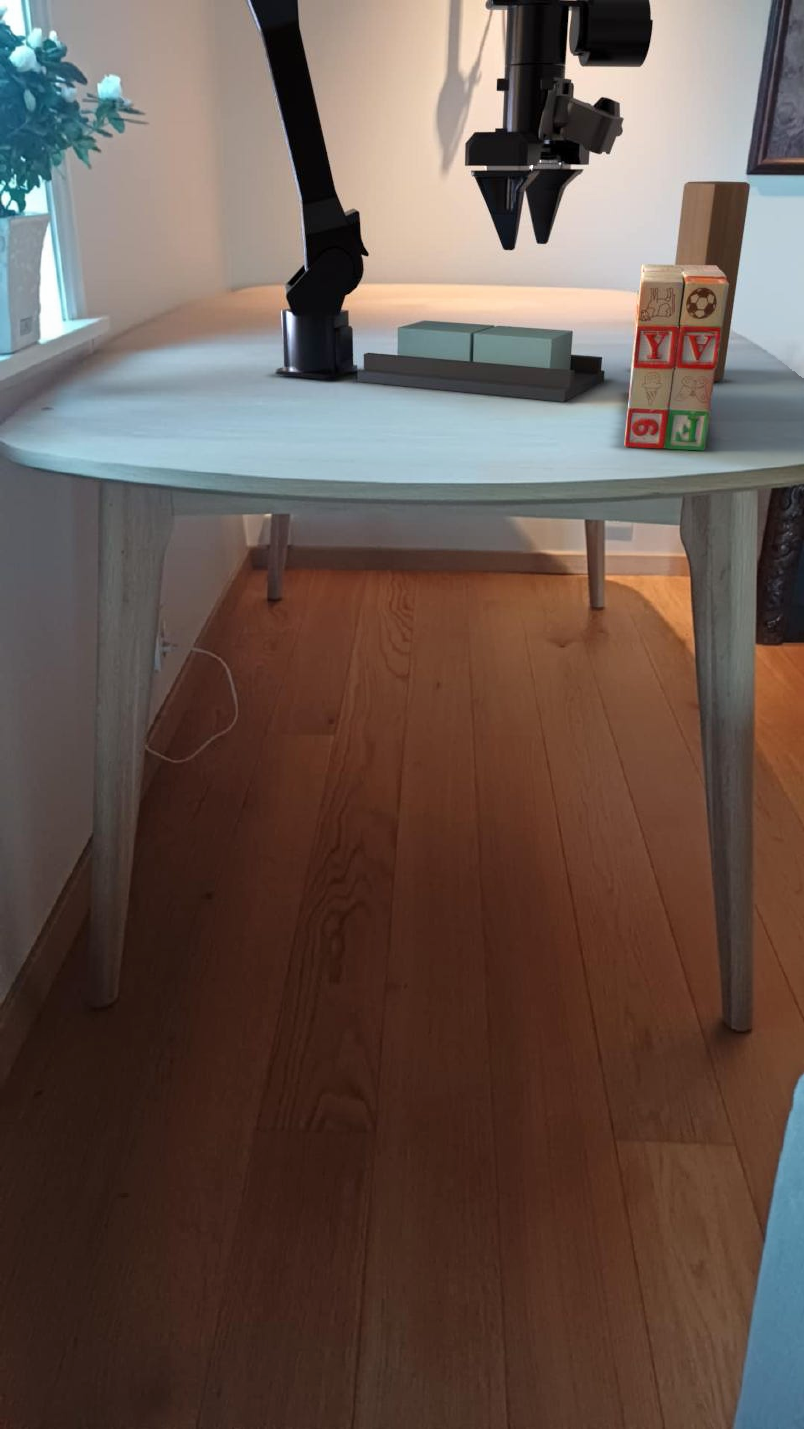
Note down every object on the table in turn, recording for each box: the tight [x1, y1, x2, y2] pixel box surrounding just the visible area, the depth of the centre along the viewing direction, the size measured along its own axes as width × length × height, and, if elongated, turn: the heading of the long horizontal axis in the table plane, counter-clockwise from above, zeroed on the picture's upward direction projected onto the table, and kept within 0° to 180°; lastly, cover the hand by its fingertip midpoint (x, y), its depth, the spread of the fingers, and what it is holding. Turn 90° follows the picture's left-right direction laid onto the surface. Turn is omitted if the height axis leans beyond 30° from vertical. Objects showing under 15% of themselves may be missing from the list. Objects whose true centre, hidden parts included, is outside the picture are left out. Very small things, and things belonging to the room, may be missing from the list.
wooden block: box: [674, 180, 751, 382], centre depth 104 cm, size 9×4×18 cm, turn 27°
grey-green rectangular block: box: [473, 325, 574, 370], centre depth 103 cm, size 8×6×4 cm
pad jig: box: [357, 320, 606, 403], centre depth 105 cm, size 22×12×5 cm, turn 63°
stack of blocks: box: [623, 263, 729, 451], centre depth 88 cm, size 21×6×12 cm, turn 168°
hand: (526, 247), depth 106 cm, fingers open, 9 cm apart
